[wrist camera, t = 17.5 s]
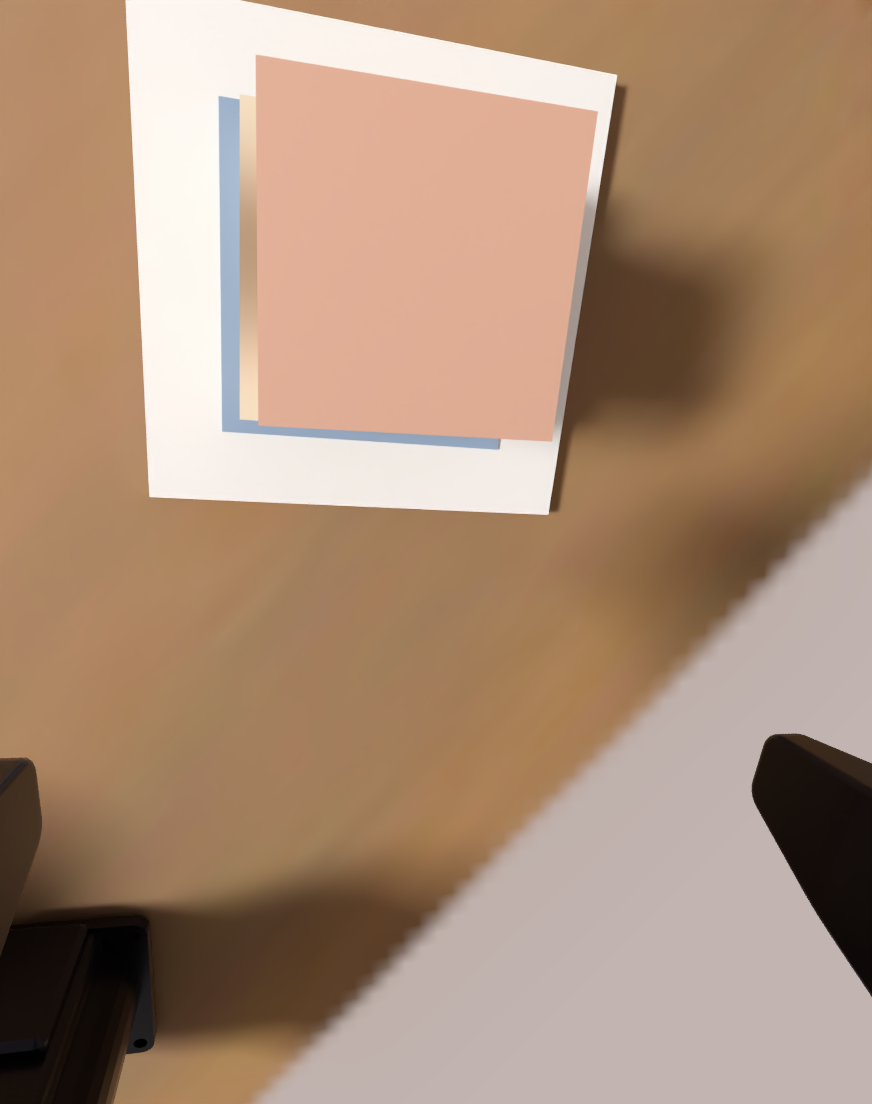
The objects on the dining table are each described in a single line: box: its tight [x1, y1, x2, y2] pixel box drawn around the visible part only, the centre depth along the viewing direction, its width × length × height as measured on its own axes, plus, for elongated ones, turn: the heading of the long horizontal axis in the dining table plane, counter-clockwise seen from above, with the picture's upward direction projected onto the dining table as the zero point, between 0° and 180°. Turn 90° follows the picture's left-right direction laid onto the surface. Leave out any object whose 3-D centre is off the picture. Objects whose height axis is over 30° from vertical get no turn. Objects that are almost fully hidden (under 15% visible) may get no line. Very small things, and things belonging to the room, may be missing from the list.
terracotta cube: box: [256, 55, 598, 442], centre depth 12 cm, size 5×5×5 cm
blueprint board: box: [126, 0, 617, 515], centre depth 18 cm, size 12×12×1 cm
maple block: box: [240, 94, 258, 421], centre depth 16 cm, size 6×6×3 cm
